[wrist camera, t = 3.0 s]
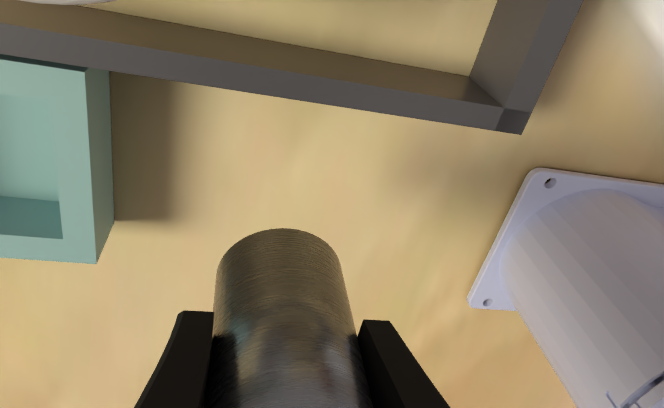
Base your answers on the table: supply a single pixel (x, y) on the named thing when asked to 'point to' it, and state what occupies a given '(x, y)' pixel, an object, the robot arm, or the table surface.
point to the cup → (67, 1)
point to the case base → (308, 61)
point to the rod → (283, 327)
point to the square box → (54, 161)
